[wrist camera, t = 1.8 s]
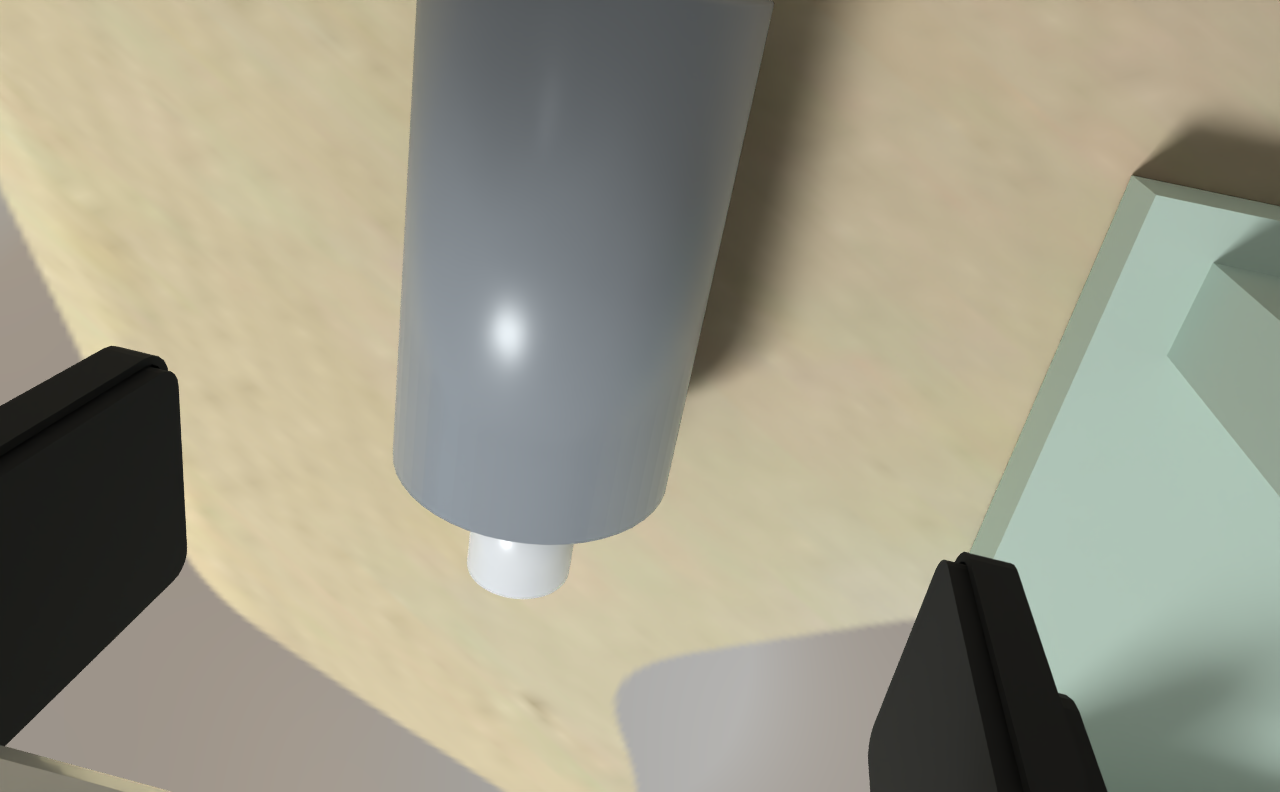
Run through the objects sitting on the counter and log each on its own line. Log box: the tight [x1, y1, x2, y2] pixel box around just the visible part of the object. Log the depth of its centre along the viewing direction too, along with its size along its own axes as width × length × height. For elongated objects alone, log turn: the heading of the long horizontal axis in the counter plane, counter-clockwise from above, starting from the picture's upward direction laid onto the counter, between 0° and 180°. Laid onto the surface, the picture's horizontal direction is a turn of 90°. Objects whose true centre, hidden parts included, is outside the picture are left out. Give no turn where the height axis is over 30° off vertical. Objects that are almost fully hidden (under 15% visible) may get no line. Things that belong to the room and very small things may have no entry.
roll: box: [393, 0, 774, 599], centre depth 18 cm, size 16×6×6 cm
